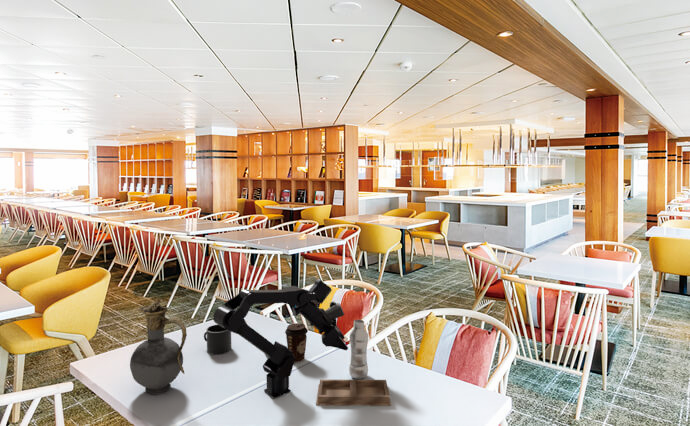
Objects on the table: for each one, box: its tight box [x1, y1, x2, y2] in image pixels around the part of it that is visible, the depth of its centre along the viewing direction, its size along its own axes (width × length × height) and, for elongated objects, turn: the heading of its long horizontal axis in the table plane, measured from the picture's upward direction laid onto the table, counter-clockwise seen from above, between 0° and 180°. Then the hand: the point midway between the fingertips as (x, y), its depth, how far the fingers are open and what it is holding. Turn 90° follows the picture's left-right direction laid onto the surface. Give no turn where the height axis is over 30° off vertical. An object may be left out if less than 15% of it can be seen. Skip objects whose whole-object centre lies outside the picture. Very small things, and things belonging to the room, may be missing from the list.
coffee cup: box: [284, 323, 309, 363], centre depth 163 cm, size 9×8×13 cm
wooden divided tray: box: [315, 379, 392, 407], centre depth 137 cm, size 23×12×2 cm, turn 90°
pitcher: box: [129, 299, 188, 395], centre depth 139 cm, size 11×19×30 cm, turn 75°
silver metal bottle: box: [348, 319, 369, 380], centre depth 148 cm, size 6×7×20 cm
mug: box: [203, 324, 232, 355], centre depth 172 cm, size 9×12×9 cm
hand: (345, 343), depth 148 cm, fingers open, 9 cm apart
